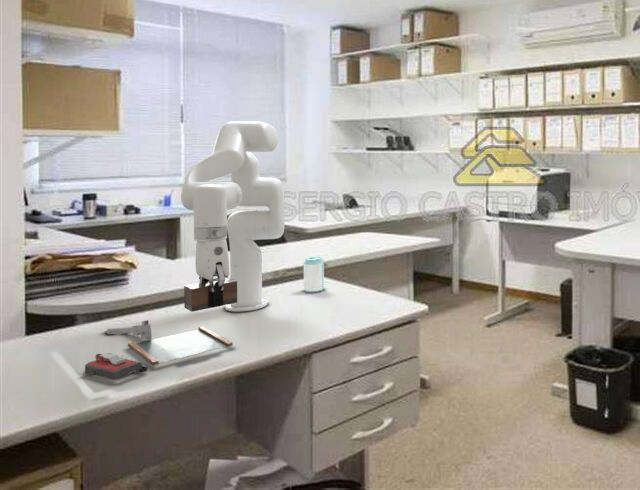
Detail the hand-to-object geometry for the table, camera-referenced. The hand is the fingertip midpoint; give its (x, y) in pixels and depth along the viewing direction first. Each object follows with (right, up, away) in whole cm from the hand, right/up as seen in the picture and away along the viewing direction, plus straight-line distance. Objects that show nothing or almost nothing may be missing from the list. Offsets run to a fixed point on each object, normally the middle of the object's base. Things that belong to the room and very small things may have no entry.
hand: (211, 303), depth 145 cm
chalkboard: (-10, -13, +3) cm, 17 cm away
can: (+5, -12, +64) cm, 66 cm away
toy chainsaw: (-18, -13, -11) cm, 25 cm away
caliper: (-29, -13, +12) cm, 34 cm away
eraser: (0, 0, 0) cm, 0 cm away
